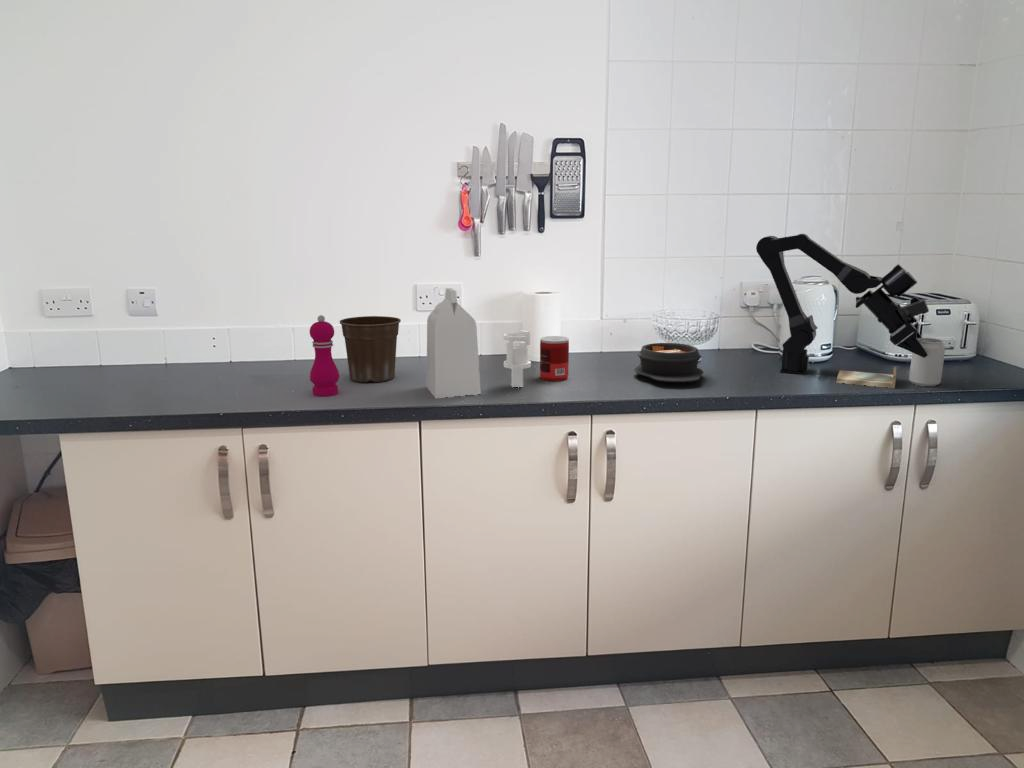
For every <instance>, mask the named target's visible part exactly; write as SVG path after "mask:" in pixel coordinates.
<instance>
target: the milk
mask: <svg viewBox="0 0 1024 768" xmlns="http://www.w3.org/2000/svg"><path fill="white" fill-rule="evenodd" d="M444 295H445V296H444V299H443V300H442V301H441V302H439V303H438V304H436V305H435V306H434V308H433V310H432V311H431V312H430V314H429V315H428V316H427V320H426V321H427V322H426V388H427V389H428V391H429V393H431V395H432V396H433V397H434V398H435V399H445V397H448V398H455V397H454V396H461V397H466V396H465V395H474V396H478V395H477V394H481V393H482V392H481V376H480V363H479V361H480V360H479V346H478V344H479V343H478V342H479V340H478V327H477V322H476V319H475V318H474V317H473V316H472V315H471V314H470V313H469V312H468V311H466V309H464V308H463V306H462V305H461V304H459V303H458V298H457V296H458V295H457V290H455V289H453V288H451V287H449V288H447V287H446V288H445V293H444Z"/></svg>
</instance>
